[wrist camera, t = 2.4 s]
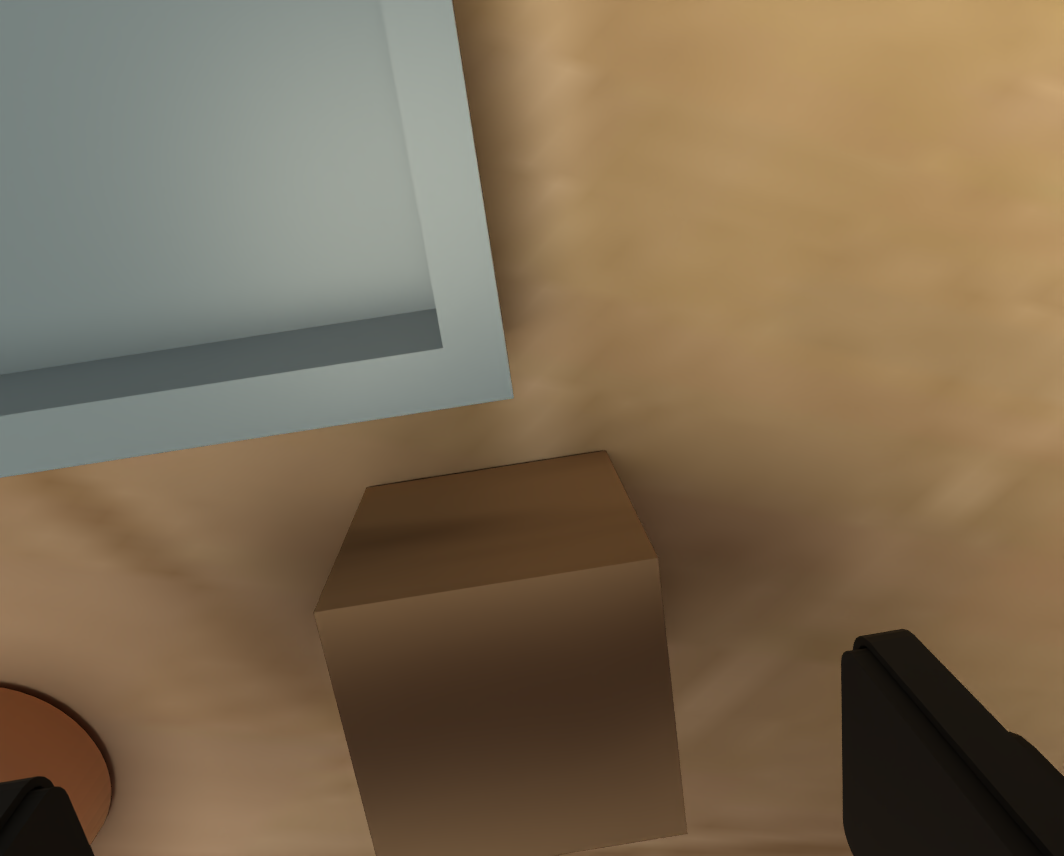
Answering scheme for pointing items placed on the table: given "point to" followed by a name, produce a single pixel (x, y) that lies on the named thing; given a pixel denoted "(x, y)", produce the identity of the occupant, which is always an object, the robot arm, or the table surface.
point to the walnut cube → (504, 664)
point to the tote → (235, 224)
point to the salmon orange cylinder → (54, 755)
